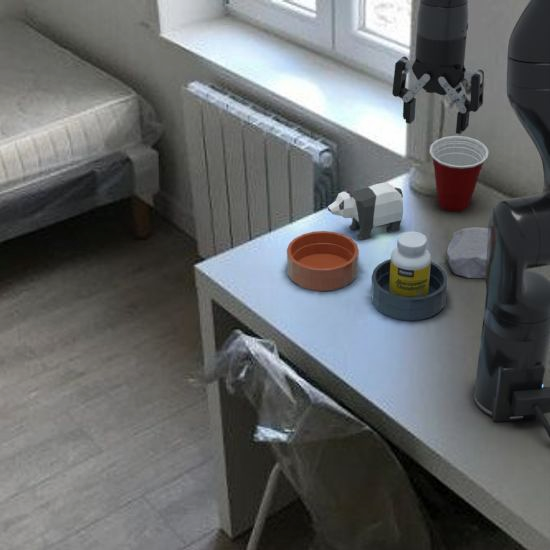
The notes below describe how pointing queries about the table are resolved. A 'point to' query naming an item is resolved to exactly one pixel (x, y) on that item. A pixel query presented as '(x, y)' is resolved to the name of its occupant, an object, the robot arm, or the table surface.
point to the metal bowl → (408, 305)
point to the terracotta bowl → (322, 260)
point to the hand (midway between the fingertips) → (434, 126)
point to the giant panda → (370, 208)
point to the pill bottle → (410, 266)
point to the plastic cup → (457, 170)
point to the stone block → (468, 252)
